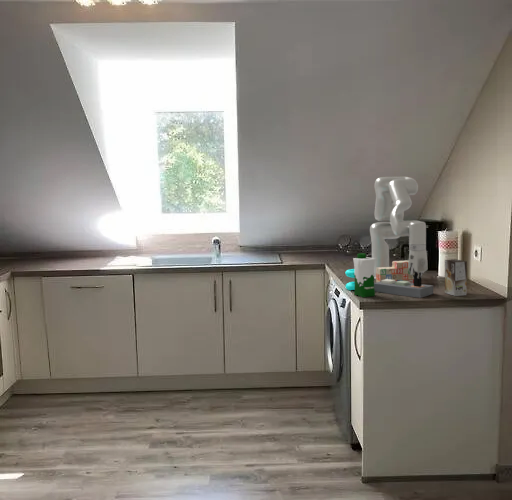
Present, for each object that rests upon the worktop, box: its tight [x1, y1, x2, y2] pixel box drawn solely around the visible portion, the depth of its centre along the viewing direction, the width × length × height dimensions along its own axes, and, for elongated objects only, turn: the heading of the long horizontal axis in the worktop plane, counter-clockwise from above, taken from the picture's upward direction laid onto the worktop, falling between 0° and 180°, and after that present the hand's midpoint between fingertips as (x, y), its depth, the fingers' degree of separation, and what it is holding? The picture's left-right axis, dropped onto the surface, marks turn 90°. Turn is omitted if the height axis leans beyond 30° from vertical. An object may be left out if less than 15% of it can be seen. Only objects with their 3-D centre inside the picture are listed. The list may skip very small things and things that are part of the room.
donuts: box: [345, 268, 355, 291], centre depth 271 cm, size 10×10×10 cm
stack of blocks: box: [375, 259, 414, 283], centre depth 281 cm, size 21×6×12 cm, turn 98°
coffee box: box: [444, 258, 468, 297], centre depth 251 cm, size 9×6×16 cm
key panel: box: [374, 281, 434, 299], centre depth 259 cm, size 26×12×4 cm, turn 43°
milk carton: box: [352, 252, 376, 298], centre depth 254 cm, size 9×9×20 cm
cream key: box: [381, 279, 395, 284], centre depth 265 cm, size 5×5×3 cm
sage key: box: [395, 281, 410, 286], centre depth 259 cm, size 5×5×3 cm
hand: (417, 286), depth 253 cm, fingers closed
